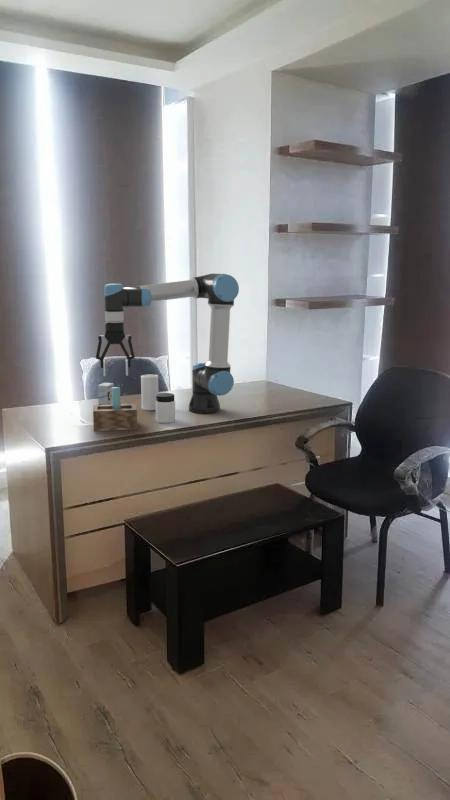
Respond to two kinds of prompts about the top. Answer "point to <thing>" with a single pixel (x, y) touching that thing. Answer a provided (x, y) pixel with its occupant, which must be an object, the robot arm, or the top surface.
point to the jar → (165, 408)
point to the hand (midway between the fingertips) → (115, 375)
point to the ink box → (105, 393)
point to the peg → (116, 398)
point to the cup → (149, 391)
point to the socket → (114, 417)
